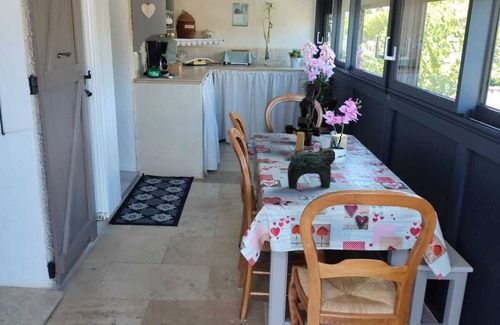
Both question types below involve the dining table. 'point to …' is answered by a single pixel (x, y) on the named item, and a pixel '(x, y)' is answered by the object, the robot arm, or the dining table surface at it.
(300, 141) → the switch tab
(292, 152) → the switch housing
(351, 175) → the dining table surface
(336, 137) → the ink box
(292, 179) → the dark green animal figurine
